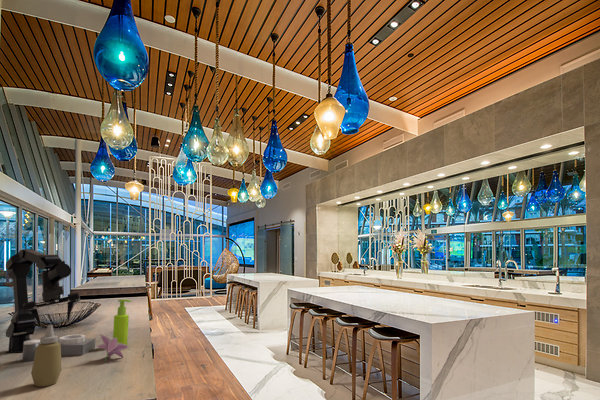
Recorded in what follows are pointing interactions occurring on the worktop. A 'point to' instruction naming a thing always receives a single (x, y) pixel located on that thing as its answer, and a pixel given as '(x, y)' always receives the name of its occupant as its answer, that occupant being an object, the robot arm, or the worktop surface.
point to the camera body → (76, 345)
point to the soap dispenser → (121, 323)
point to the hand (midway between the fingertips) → (54, 324)
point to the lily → (112, 346)
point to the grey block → (29, 350)
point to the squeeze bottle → (47, 360)
